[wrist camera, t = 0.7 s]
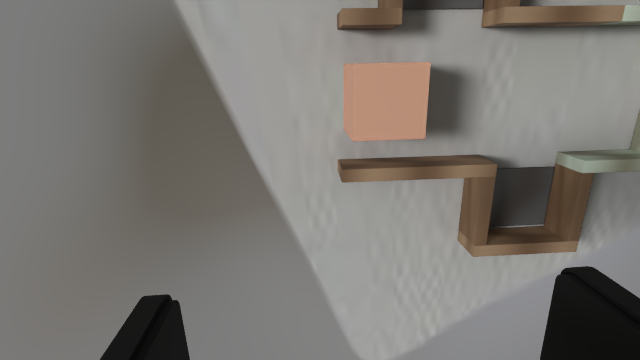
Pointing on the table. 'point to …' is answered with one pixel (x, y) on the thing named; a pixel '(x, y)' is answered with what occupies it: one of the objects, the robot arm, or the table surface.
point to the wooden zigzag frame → (482, 174)
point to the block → (386, 100)
